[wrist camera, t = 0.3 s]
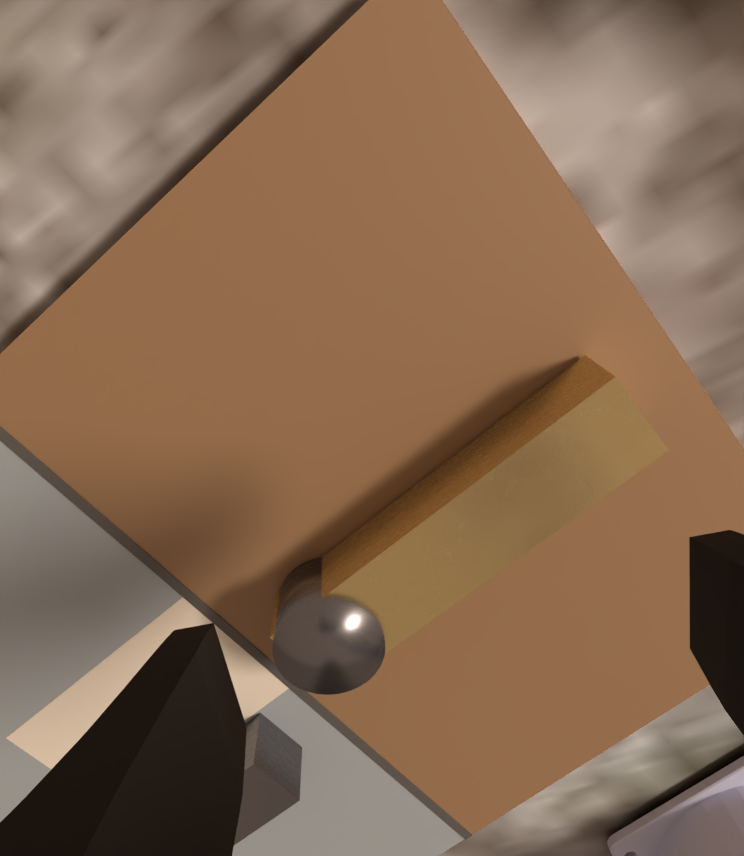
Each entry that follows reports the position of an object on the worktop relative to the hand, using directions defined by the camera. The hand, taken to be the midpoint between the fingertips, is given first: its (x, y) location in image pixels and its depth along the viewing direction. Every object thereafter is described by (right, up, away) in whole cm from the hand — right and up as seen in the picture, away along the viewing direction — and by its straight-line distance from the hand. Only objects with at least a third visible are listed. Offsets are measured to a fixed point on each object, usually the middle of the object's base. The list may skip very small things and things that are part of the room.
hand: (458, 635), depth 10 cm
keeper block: (-6, -8, +12) cm, 15 cm away
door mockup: (-4, -3, +11) cm, 12 cm away
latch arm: (+1, +1, +9) cm, 9 cm away
